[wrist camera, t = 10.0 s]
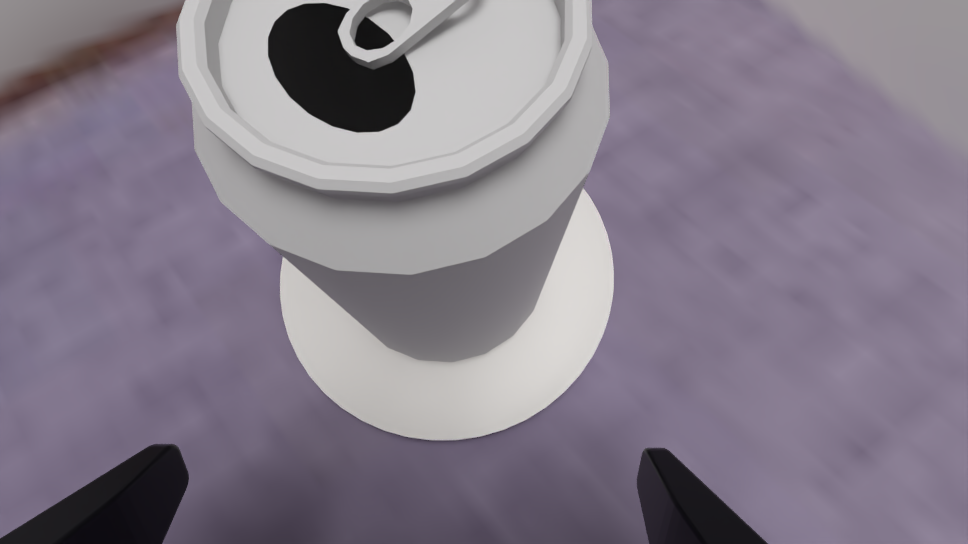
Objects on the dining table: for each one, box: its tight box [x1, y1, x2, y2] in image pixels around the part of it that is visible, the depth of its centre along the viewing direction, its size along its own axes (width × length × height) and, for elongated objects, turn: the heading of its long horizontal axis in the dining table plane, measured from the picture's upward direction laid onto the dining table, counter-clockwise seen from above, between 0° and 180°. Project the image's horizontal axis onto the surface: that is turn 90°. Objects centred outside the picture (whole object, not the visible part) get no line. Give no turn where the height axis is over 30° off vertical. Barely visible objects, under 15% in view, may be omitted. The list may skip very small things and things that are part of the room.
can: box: [176, 0, 610, 362], centre depth 12 cm, size 8×8×12 cm
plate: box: [280, 189, 614, 440], centre depth 19 cm, size 13×13×1 cm
